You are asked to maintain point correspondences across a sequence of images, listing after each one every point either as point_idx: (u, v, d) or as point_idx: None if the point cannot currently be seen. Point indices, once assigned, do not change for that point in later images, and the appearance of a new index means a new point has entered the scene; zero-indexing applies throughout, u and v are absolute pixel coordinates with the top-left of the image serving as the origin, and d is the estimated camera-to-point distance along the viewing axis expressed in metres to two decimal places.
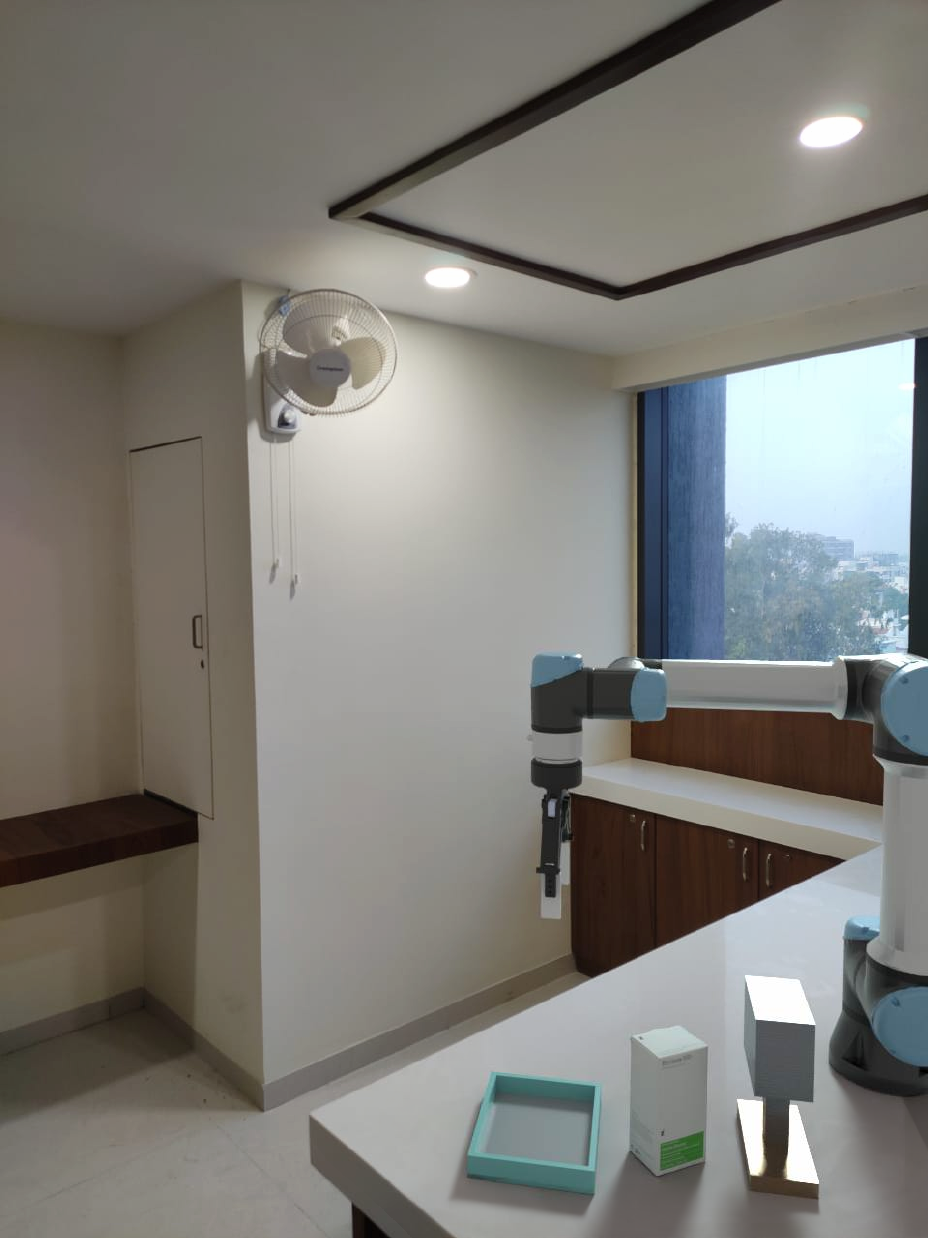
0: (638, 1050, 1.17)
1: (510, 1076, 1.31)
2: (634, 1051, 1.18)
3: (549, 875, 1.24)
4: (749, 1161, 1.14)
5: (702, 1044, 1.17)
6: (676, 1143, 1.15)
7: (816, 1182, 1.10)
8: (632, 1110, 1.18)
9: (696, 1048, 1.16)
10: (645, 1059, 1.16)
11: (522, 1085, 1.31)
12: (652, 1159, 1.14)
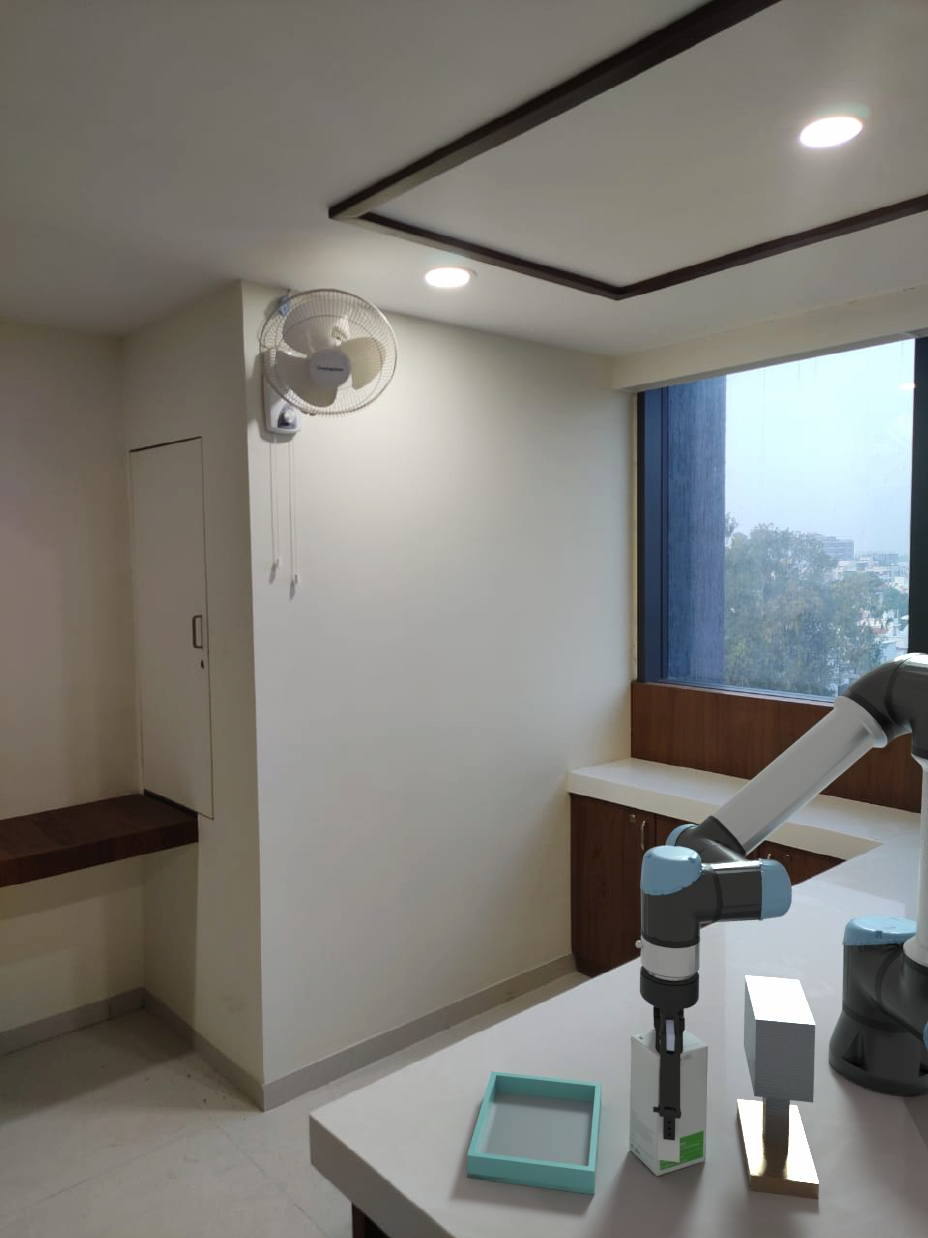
0: (638, 1050, 1.17)
1: (510, 1076, 1.31)
2: (634, 1051, 1.18)
3: None
4: (749, 1161, 1.14)
5: (703, 1043, 1.17)
6: None
7: (816, 1182, 1.10)
8: (632, 1110, 1.18)
9: (696, 1048, 1.16)
10: (645, 1058, 1.16)
11: (522, 1085, 1.31)
12: (652, 1159, 1.14)
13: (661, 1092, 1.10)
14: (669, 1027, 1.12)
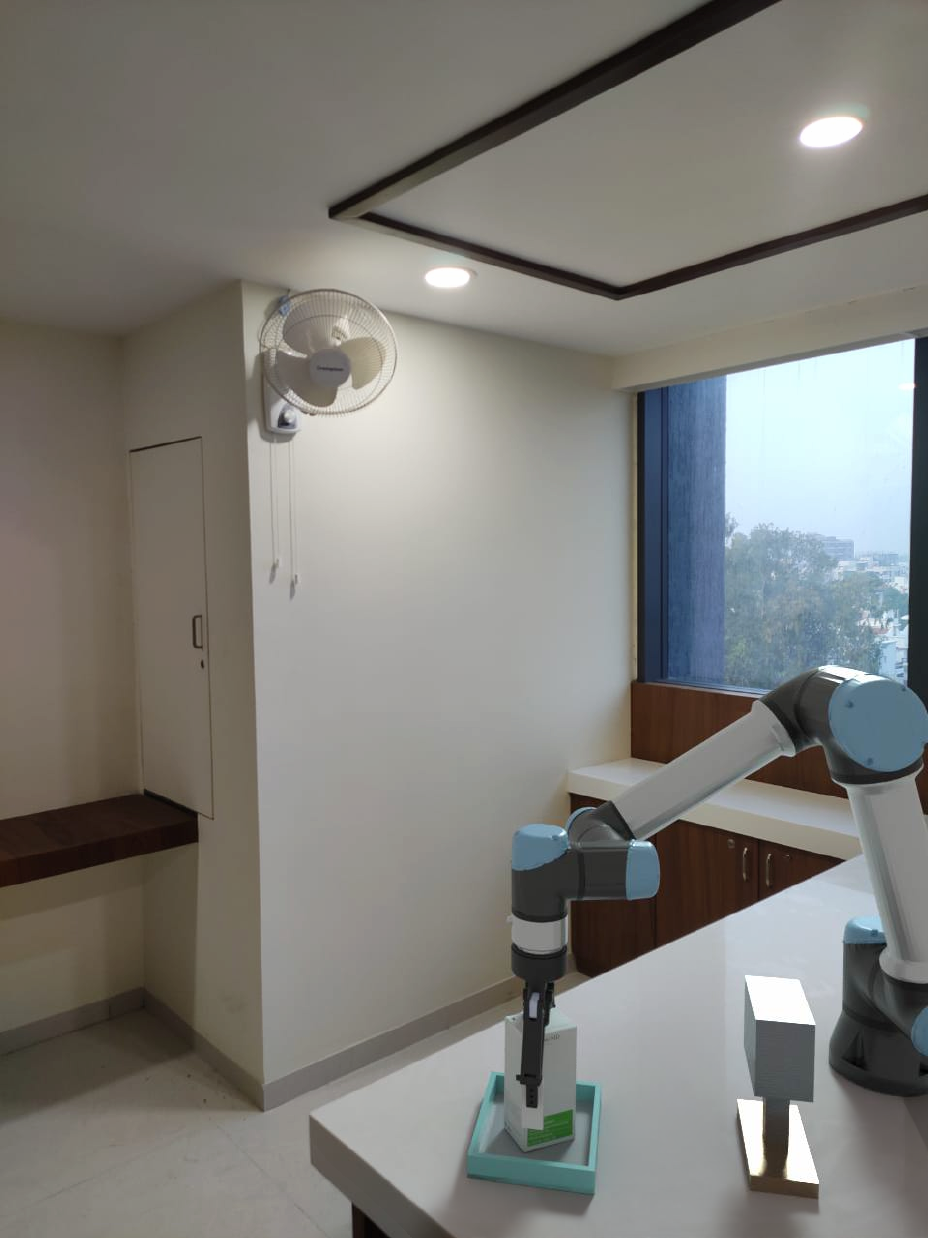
0: (509, 1031, 1.21)
1: None
2: (507, 1031, 1.22)
3: None
4: (749, 1161, 1.14)
5: (572, 1025, 1.20)
6: None
7: (816, 1182, 1.10)
8: (505, 1089, 1.22)
9: (565, 1028, 1.20)
10: (514, 1038, 1.19)
11: None
12: (520, 1136, 1.18)
13: (522, 1059, 1.12)
14: (534, 996, 1.16)
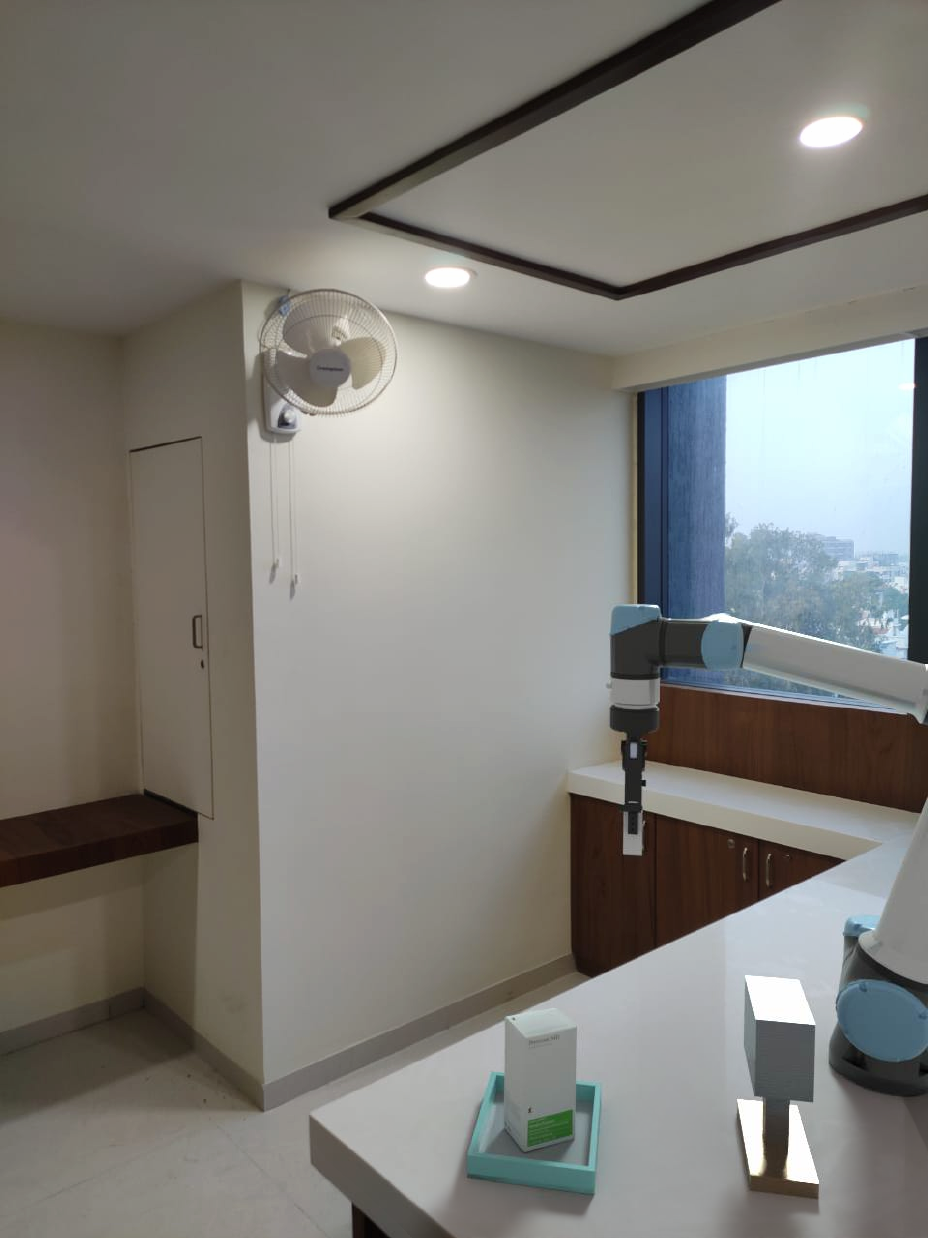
0: (509, 1031, 1.21)
1: None
2: (507, 1031, 1.22)
3: (632, 813, 1.31)
4: (749, 1161, 1.14)
5: (572, 1025, 1.20)
6: (543, 1121, 1.18)
7: (816, 1182, 1.10)
8: (505, 1089, 1.22)
9: (565, 1028, 1.20)
10: (514, 1038, 1.19)
11: None
12: (520, 1136, 1.18)
13: (625, 789, 1.30)
14: (633, 743, 1.34)
